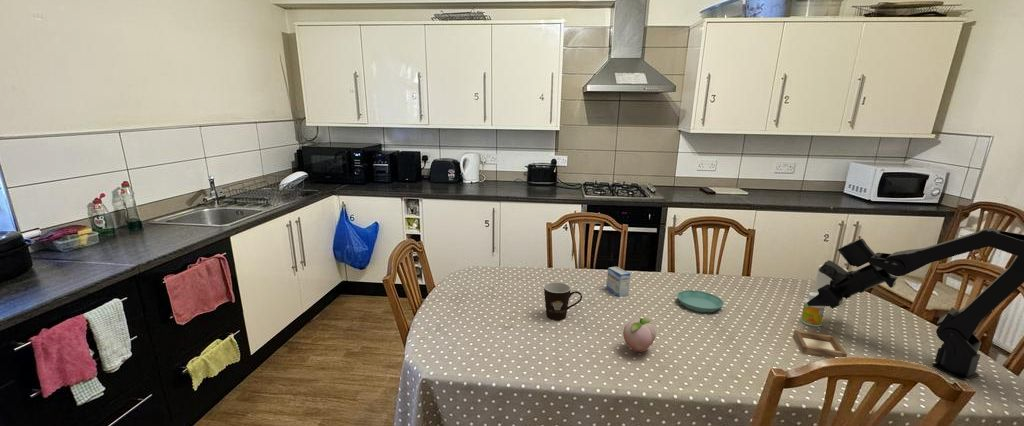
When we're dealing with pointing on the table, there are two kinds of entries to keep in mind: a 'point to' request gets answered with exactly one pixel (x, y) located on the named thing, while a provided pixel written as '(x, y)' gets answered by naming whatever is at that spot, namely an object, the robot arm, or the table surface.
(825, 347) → the tray
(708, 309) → the saucer
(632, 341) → the decorative fruit
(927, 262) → the robot arm
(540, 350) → the table surface
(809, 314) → the supplement bottle
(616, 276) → the medicine box
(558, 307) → the coffee mug
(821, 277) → the cup
